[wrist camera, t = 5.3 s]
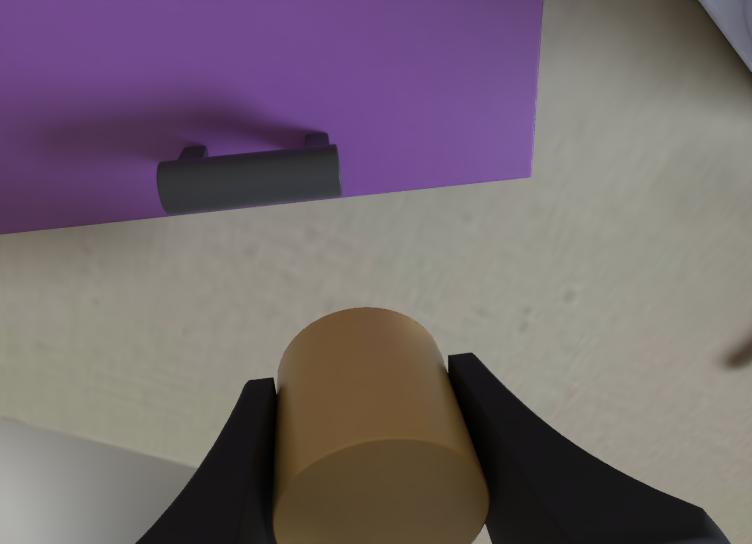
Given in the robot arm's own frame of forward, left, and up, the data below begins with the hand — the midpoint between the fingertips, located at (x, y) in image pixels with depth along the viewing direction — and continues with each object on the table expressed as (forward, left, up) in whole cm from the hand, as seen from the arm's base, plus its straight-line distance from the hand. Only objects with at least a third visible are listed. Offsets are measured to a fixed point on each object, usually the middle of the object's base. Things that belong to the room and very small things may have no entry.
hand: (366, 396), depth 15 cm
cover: (+7, -4, -7) cm, 11 cm away
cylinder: (0, 0, -1) cm, 1 cm away
